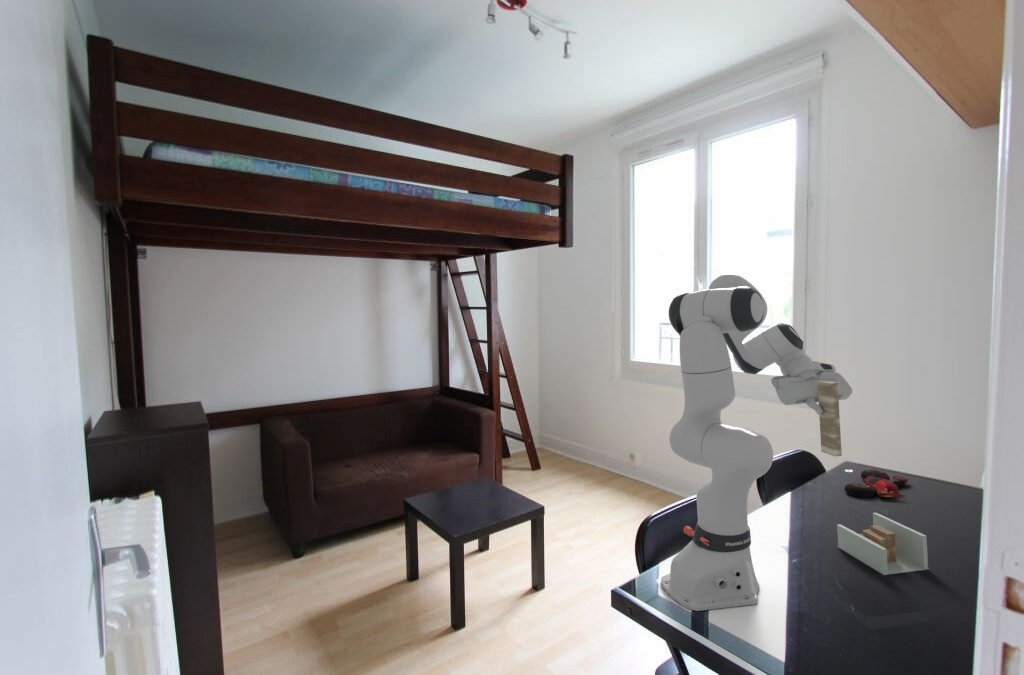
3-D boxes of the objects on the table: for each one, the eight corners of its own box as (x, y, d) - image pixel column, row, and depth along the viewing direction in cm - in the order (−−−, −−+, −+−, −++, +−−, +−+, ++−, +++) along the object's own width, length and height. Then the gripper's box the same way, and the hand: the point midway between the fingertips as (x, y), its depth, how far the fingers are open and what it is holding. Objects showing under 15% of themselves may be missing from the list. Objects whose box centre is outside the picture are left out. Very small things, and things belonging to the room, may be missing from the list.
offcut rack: (884, 581, 112) (882, 541, 112) (838, 552, 126) (836, 517, 125) (929, 575, 113) (927, 535, 113) (879, 547, 127) (877, 512, 126)
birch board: (834, 456, 130) (830, 383, 129) (821, 451, 135) (817, 381, 134) (841, 455, 130) (837, 382, 130) (827, 450, 135) (824, 380, 135)
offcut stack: (875, 565, 116) (873, 537, 116) (855, 553, 122) (853, 526, 122) (898, 562, 116) (896, 534, 116) (877, 551, 122) (875, 524, 122)
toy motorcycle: (842, 499, 162) (900, 503, 150) (839, 484, 163) (896, 486, 151) (866, 481, 178) (921, 484, 165) (863, 467, 178) (917, 469, 166)
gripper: (773, 370, 139) (797, 409, 129) (838, 364, 141) (868, 402, 131) (764, 383, 143) (787, 422, 134) (828, 377, 145) (855, 415, 136)
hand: (828, 412), depth 133 cm, fingers closed on birch board, 2 cm apart
